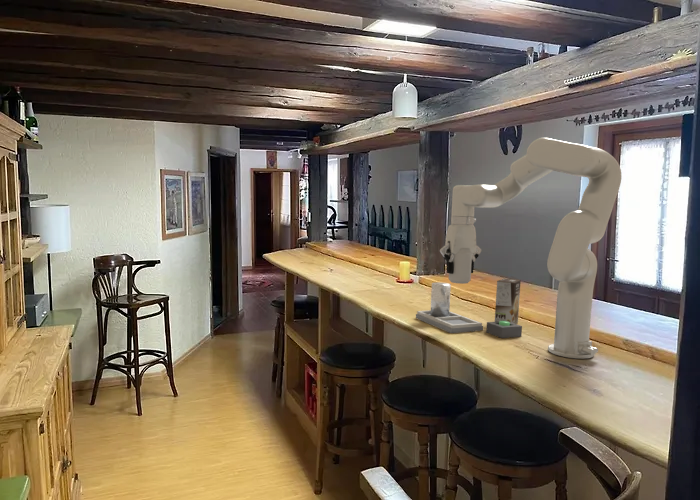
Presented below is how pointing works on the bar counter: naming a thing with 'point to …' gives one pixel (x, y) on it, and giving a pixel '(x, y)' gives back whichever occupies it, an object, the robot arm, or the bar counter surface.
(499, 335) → the console
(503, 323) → the button
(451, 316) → the grey compartment tray
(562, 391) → the bar counter surface
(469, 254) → the can
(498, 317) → the coffee box
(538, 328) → the bar counter surface
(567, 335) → the robot arm
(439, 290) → the block
